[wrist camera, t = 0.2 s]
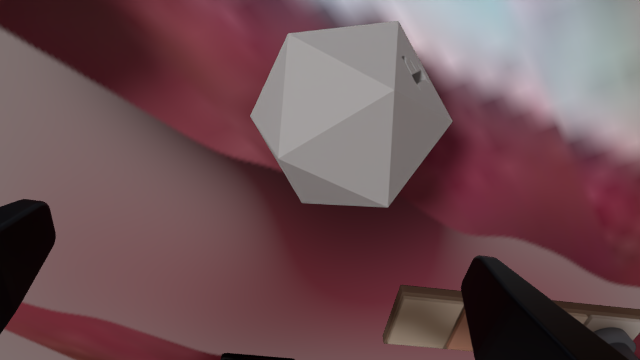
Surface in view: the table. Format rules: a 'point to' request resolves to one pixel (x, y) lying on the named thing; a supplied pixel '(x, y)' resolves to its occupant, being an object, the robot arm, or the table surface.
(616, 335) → the pawn
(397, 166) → the die
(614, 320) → the track
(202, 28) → the table surface
